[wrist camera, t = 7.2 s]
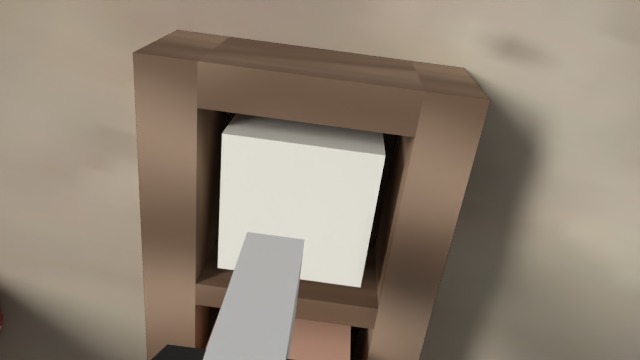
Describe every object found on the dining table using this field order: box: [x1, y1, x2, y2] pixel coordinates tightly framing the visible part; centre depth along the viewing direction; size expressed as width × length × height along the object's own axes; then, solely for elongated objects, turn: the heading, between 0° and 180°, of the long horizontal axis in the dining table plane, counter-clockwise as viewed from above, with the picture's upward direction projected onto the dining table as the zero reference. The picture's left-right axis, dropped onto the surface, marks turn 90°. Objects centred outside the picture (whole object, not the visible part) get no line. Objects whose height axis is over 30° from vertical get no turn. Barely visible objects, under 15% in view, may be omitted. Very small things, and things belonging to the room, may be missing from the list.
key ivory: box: [218, 113, 386, 288], centre depth 19 cm, size 5×5×4 cm
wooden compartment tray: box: [133, 30, 490, 360], centre depth 23 cm, size 26×11×4 cm, turn 173°
